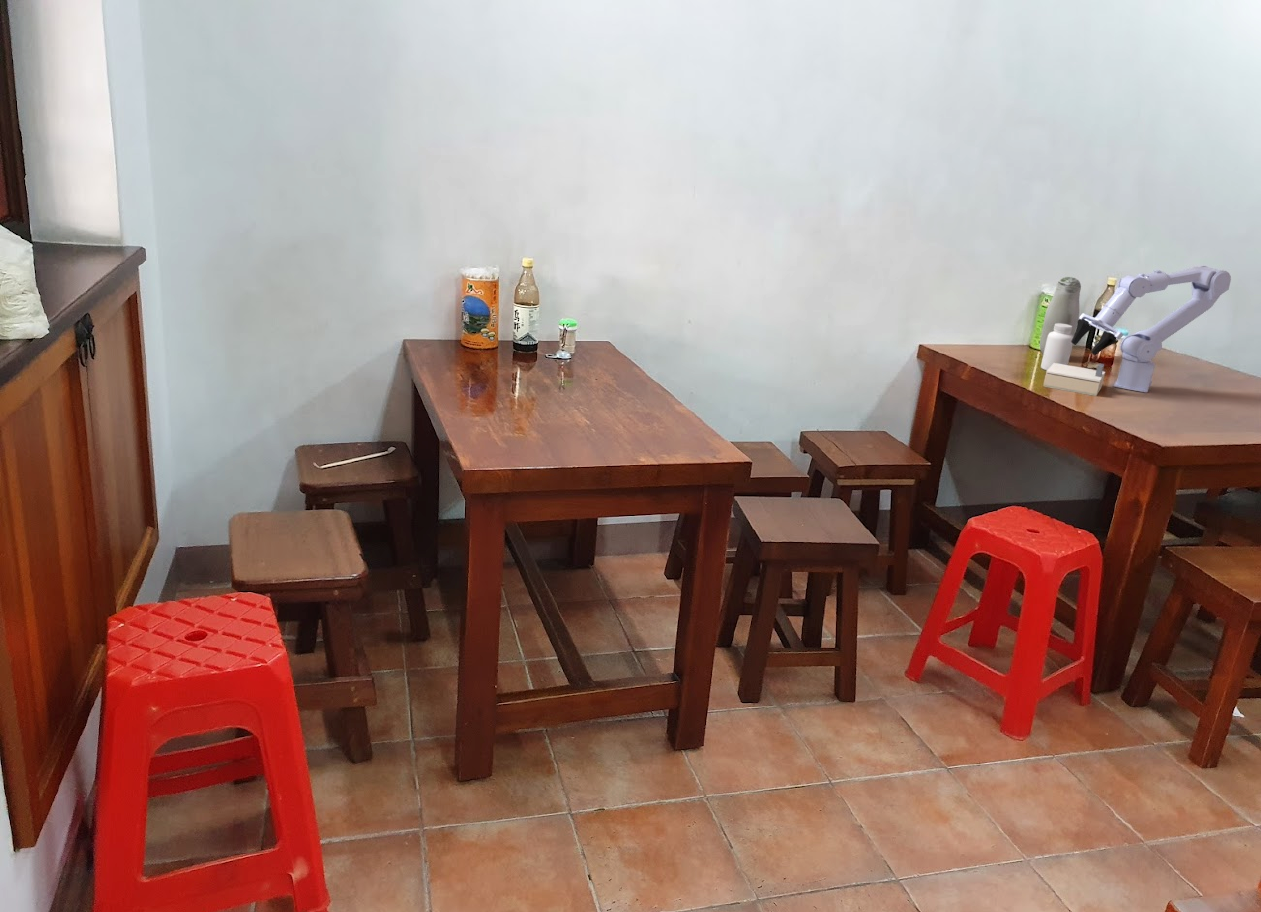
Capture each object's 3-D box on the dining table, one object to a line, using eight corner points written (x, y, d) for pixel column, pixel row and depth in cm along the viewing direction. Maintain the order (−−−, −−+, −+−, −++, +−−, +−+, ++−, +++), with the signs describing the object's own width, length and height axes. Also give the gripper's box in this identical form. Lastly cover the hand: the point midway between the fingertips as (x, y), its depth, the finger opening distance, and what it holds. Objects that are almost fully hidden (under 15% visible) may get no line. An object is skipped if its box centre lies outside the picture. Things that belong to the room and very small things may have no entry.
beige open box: (1101, 386, 296) (1104, 374, 294) (1096, 396, 284) (1099, 383, 283) (1050, 377, 303) (1053, 365, 301) (1043, 386, 291) (1045, 373, 290)
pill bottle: (1063, 374, 308) (1073, 328, 303) (1037, 369, 312) (1047, 324, 307) (1069, 370, 314) (1079, 325, 309) (1044, 365, 318) (1053, 321, 313)
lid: (1105, 373, 294) (1107, 361, 293) (1099, 382, 283) (1102, 370, 282) (1053, 364, 301) (1056, 352, 300) (1046, 372, 290) (1048, 360, 289)
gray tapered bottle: (1030, 355, 332) (1047, 274, 322) (1054, 354, 335) (1072, 274, 326) (1050, 362, 323) (1068, 279, 314) (1074, 362, 326) (1093, 280, 317)
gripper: (1088, 296, 291) (1059, 333, 294) (1127, 315, 280) (1096, 353, 283) (1097, 306, 295) (1068, 342, 298) (1136, 325, 284) (1106, 362, 287)
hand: (1082, 348), depth 291 cm, fingers open, 7 cm apart
